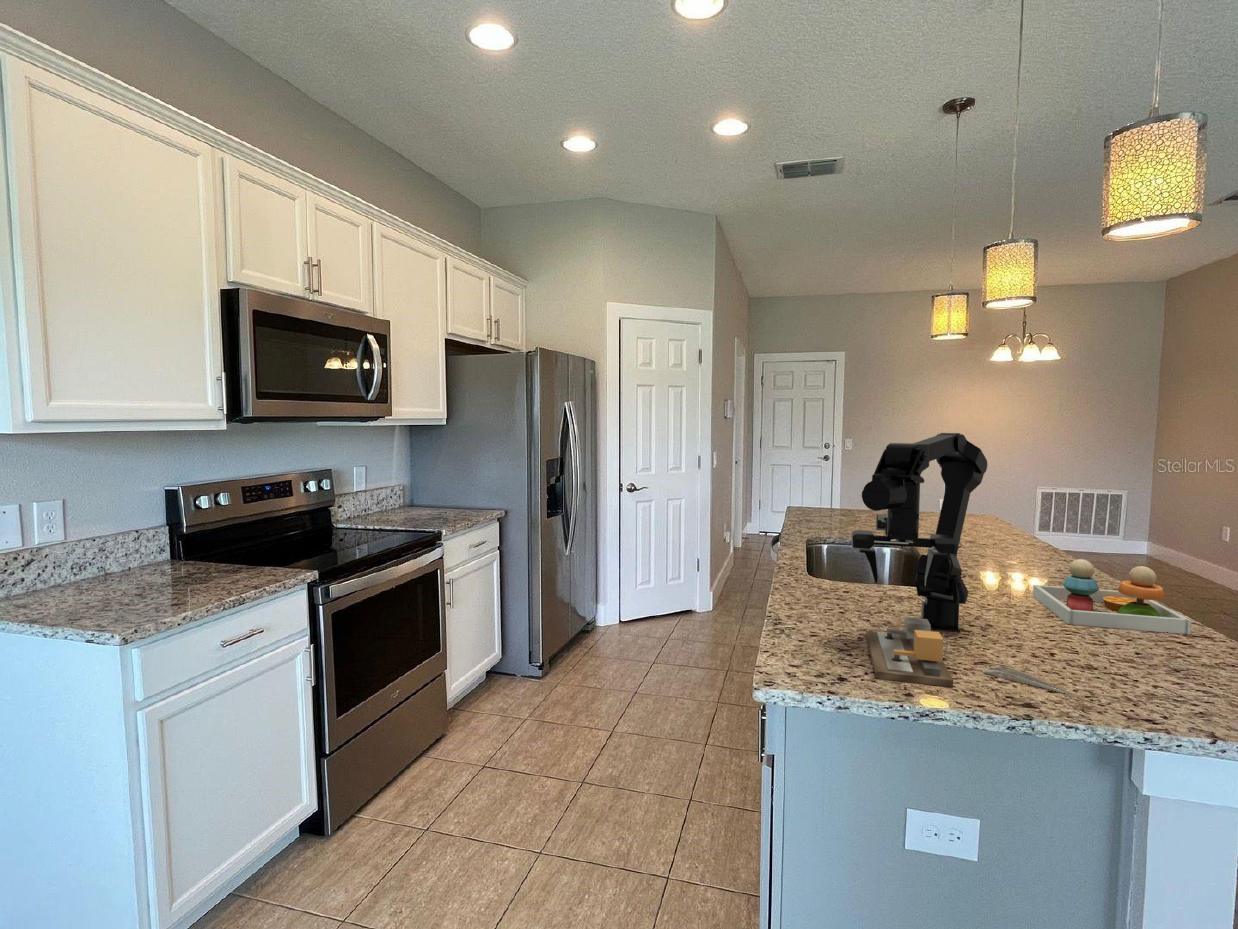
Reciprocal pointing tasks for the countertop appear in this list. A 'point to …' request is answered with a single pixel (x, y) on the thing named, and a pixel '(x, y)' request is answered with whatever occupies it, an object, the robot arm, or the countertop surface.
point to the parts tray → (1165, 623)
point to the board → (906, 665)
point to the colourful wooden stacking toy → (1136, 587)
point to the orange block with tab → (924, 646)
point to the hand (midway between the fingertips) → (900, 584)
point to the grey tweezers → (1025, 678)
